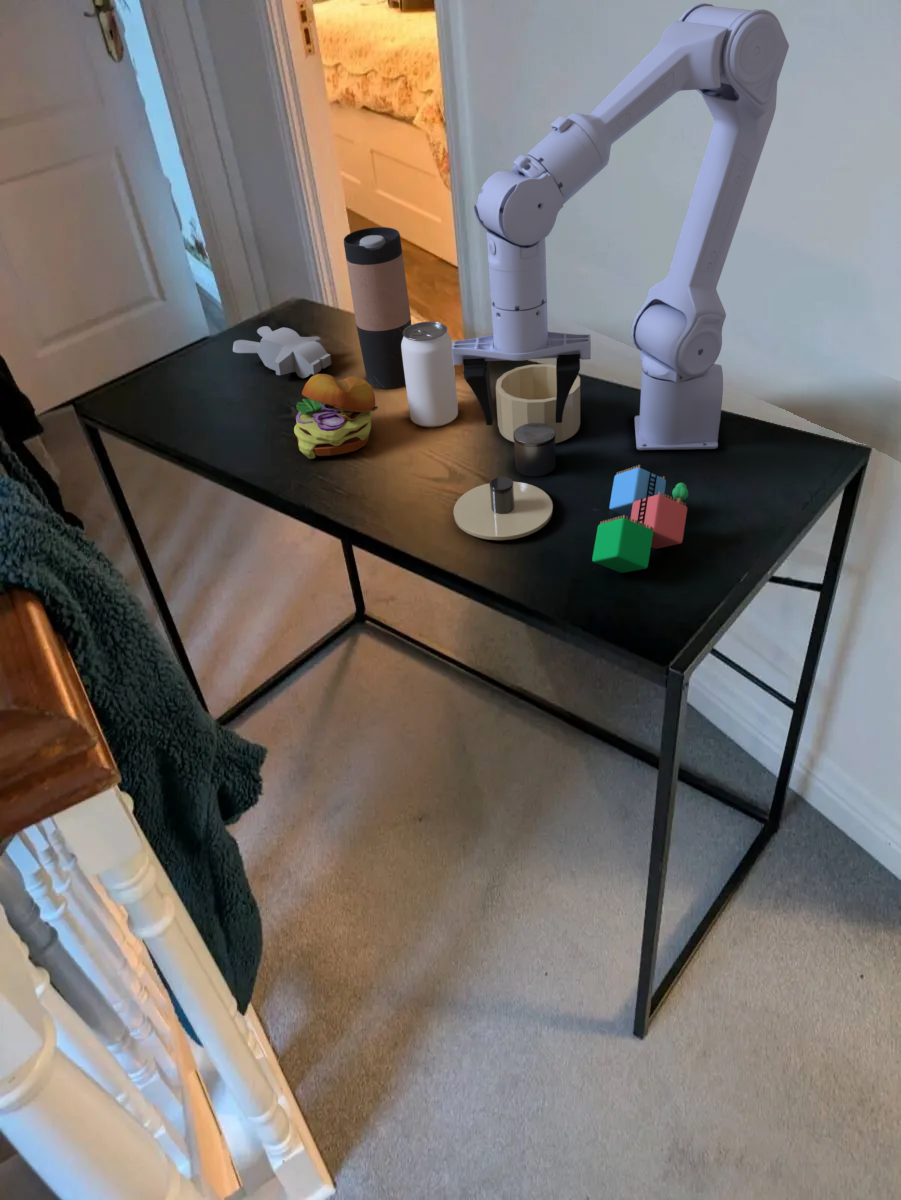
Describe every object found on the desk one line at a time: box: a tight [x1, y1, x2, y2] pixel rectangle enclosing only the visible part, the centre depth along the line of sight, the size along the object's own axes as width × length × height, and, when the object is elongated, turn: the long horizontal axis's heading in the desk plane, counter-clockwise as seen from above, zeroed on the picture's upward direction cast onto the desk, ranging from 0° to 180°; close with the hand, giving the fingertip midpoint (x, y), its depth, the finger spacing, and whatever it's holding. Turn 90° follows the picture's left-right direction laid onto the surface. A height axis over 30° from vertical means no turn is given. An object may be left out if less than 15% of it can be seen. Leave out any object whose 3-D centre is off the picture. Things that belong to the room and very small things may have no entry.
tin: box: [513, 423, 556, 478], centre depth 106 cm, size 5×5×4 cm
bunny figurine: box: [232, 325, 332, 379], centre depth 135 cm, size 10×5×15 cm
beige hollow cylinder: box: [495, 363, 581, 444], centre depth 113 cm, size 10×10×6 cm
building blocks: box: [591, 464, 689, 574], centre depth 91 cm, size 8×8×12 cm
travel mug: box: [343, 226, 412, 390], centre depth 123 cm, size 8×8×20 cm
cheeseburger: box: [293, 373, 379, 460], centre depth 114 cm, size 10×11×10 cm
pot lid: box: [453, 476, 554, 541], centre depth 98 cm, size 11×11×4 cm
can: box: [401, 321, 459, 428], centre depth 115 cm, size 6×6×12 cm
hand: (524, 419), depth 100 cm, fingers open, 7 cm apart
